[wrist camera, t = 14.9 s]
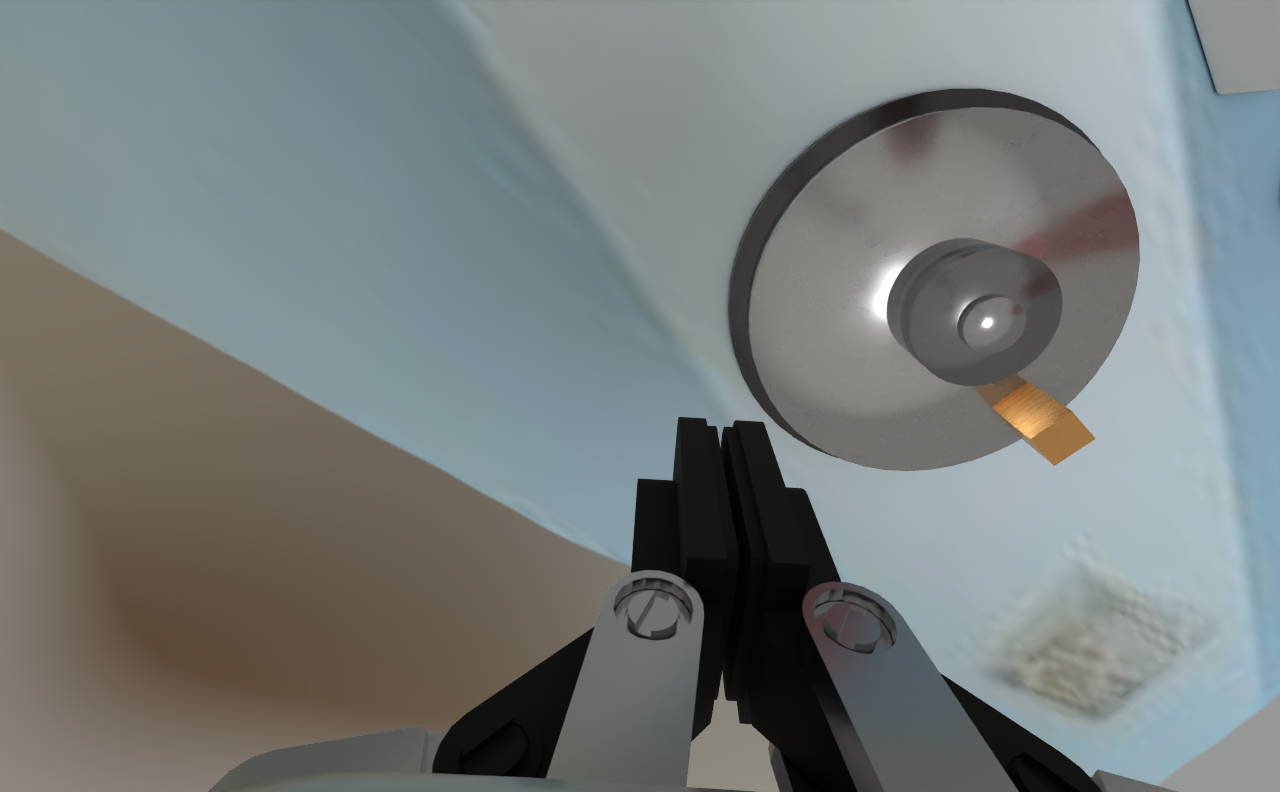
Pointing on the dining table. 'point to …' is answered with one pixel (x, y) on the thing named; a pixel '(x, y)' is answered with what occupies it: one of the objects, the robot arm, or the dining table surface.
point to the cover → (974, 310)
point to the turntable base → (809, 164)
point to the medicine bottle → (1240, 43)
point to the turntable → (893, 235)
